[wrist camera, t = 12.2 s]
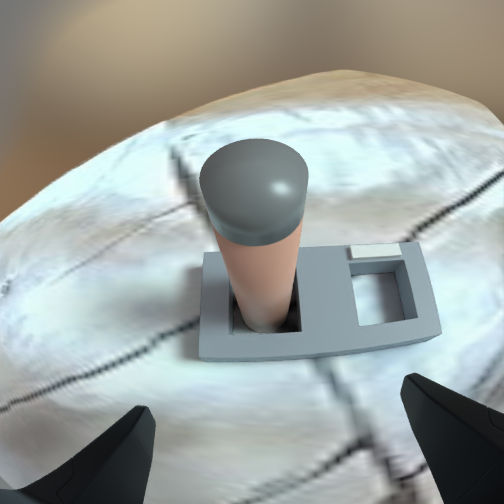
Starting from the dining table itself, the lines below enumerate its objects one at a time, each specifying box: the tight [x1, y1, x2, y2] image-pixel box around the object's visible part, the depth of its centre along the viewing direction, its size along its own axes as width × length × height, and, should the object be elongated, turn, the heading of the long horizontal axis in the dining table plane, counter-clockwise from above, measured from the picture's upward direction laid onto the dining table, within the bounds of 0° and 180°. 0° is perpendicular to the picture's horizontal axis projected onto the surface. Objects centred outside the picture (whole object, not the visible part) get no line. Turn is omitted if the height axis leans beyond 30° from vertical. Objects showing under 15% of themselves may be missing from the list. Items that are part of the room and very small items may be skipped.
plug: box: [199, 139, 308, 333], centre depth 17 cm, size 4×4×16 cm
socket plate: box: [199, 242, 442, 362], centre depth 22 cm, size 20×9×3 cm, turn 91°
